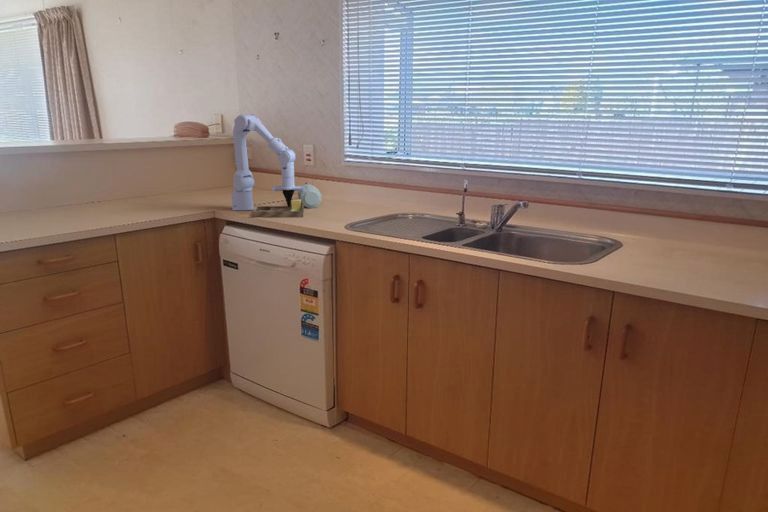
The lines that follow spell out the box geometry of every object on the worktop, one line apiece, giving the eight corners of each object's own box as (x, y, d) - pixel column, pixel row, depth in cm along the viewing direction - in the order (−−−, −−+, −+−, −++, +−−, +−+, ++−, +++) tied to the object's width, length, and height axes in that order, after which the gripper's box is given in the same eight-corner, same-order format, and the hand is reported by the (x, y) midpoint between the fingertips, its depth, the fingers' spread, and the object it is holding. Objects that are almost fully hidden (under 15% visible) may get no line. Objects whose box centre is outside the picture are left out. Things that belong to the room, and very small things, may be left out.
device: (322, 208, 263) (321, 187, 261) (301, 209, 261) (300, 187, 258) (312, 198, 292) (312, 179, 290) (293, 199, 290) (293, 180, 287)
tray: (253, 217, 240) (253, 208, 239) (257, 211, 253) (256, 203, 252) (302, 217, 242) (302, 208, 241) (303, 211, 255) (303, 203, 254)
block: (291, 209, 249) (291, 201, 248) (292, 208, 252) (292, 199, 251) (300, 209, 249) (300, 200, 248) (300, 207, 253) (300, 199, 252)
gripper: (271, 178, 242) (272, 208, 245) (303, 178, 243) (304, 207, 247) (272, 176, 249) (273, 205, 252) (304, 176, 250) (305, 205, 254)
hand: (289, 206), depth 250 cm, fingers closed
